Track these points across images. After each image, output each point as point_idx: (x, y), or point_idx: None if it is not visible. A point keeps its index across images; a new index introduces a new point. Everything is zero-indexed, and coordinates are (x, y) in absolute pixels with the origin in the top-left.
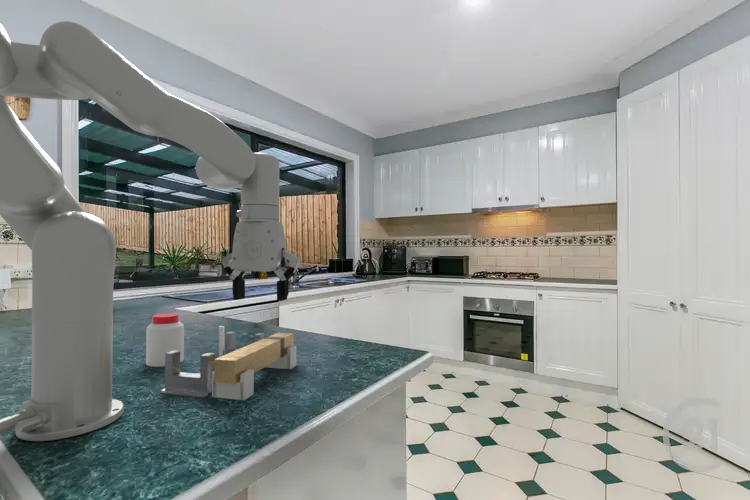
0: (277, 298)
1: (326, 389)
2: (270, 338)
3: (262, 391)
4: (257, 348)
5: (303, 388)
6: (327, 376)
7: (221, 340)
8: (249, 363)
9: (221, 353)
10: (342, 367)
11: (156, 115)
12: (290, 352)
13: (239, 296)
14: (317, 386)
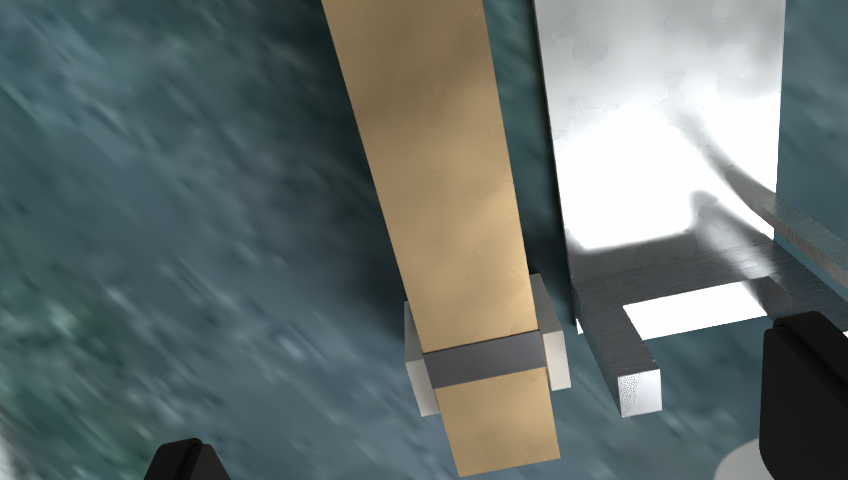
0: (189, 456)
1: (61, 169)
2: (497, 343)
3: (294, 9)
4: (385, 125)
5: (158, 133)
6: (188, 299)
7: (842, 259)
8: None
9: (792, 221)
10: (221, 409)
11: None
12: (405, 351)
13: (778, 390)
14: (125, 182)
